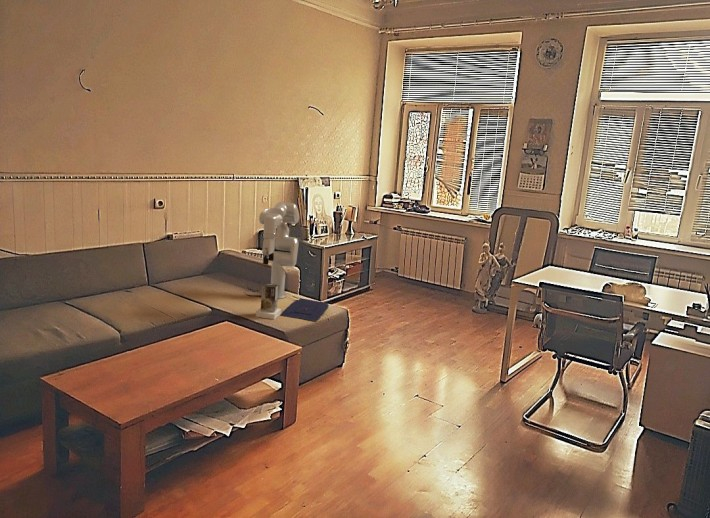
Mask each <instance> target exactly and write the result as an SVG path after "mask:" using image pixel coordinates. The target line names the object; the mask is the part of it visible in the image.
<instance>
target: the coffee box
mask: <svg viewBox="0 0 710 518" xmlns="http://www.w3.org/2000/svg"><path fill="white" fill-rule="evenodd" d="M260 294H261V296H260V298H261V299H260V308H261V311H267V312H275V311H276V310H277V309H278V285H275V284H271V283H263V284H262V285H261V293H260Z"/></svg>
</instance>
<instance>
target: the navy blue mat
mask: <svg viewBox="0 0 710 518" xmlns="http://www.w3.org/2000/svg"><path fill="white" fill-rule="evenodd" d="M329 306H330V302H324V301H318V300H313V299H307V298H301V297H300V298H299V299H296V300H293V302H291V303H290V304H289V305H288V306H287V307H286V308H285V309H284V310H283V311H281V314H280V316H284V317H289V318H296V319H301V320H306V321H310V322H314V323H315V322H317V321H318V320H319V319H320V318H321V317H322V315H324V313H325V312H326V311H327V310H328V308H329Z"/></svg>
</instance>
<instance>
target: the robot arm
mask: <svg viewBox="0 0 710 518" xmlns="http://www.w3.org/2000/svg"><path fill="white" fill-rule="evenodd" d="M258 217H259V218H258V221H259V223H260V224H261V225H263V236H262V237H263V242H262V249H261V253H262V264H263V265H269V261H270V262H271V270H270V271H271V272H270V273H271V274H270V284H275V285H278V299H280V300H281V299H284V298H286V297H287V293H285V287H286V285H285V284H286V283H285V282H286V270H285V268H284V267H295V266H296V264H297V260H298V251H299V244H300V243H299V240H298V238H297V237H293V236H290V228H289V226H288V224H298V223H299V221H300V211H299V209H298V206H297V205H296V203H293V202H282V201H281V202H278V203H277V204H276V205H275V206H274V207H269V208H265V209H263V210H262V211H261V212H260V213H259V216H258ZM275 249H277V251H275ZM279 250H280V251H279Z"/></svg>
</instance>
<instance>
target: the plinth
mask: <svg viewBox="0 0 710 518" xmlns="http://www.w3.org/2000/svg"><path fill="white" fill-rule="evenodd" d="M281 313H282V308H277V310H276V311H275V312H267V311H261V307H260V308H259V309H258V310H256V311H255V317H257V318H263V319H271V320H275V319H277V316H278V317H279V316H281Z"/></svg>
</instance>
